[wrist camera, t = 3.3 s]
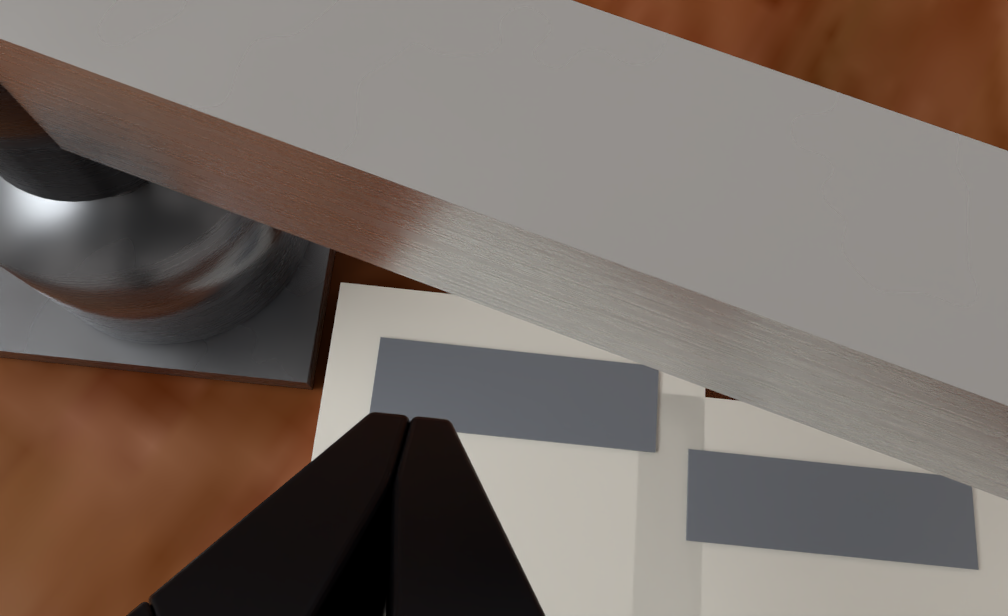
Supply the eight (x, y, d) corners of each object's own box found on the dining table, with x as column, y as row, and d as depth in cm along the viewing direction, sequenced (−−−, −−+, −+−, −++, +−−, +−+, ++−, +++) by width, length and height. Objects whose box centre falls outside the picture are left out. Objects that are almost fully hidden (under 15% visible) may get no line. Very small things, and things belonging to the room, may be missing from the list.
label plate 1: (690, 656, 14) (701, 660, 14) (292, 617, 14) (284, 619, 14) (698, 329, 16) (707, 320, 16) (344, 292, 16) (340, 280, 16)
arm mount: (312, 389, 16) (260, 325, 11) (-8, 356, 15) (-177, 278, 11) (359, 111, 17) (328, -30, 13) (74, 80, 17) (-46, -72, 13)
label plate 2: (1023, 782, 14) (1049, 791, 14) (618, 743, 14) (626, 751, 13) (992, 434, 16) (1014, 428, 15) (635, 397, 16) (642, 389, 15)
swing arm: (1291, 668, 10) (1783, 725, 7) (-72, 155, 12) (-339, -53, 8) (1304, 433, 11) (1743, 363, 8) (45, -19, 13) (-140, -282, 9)
